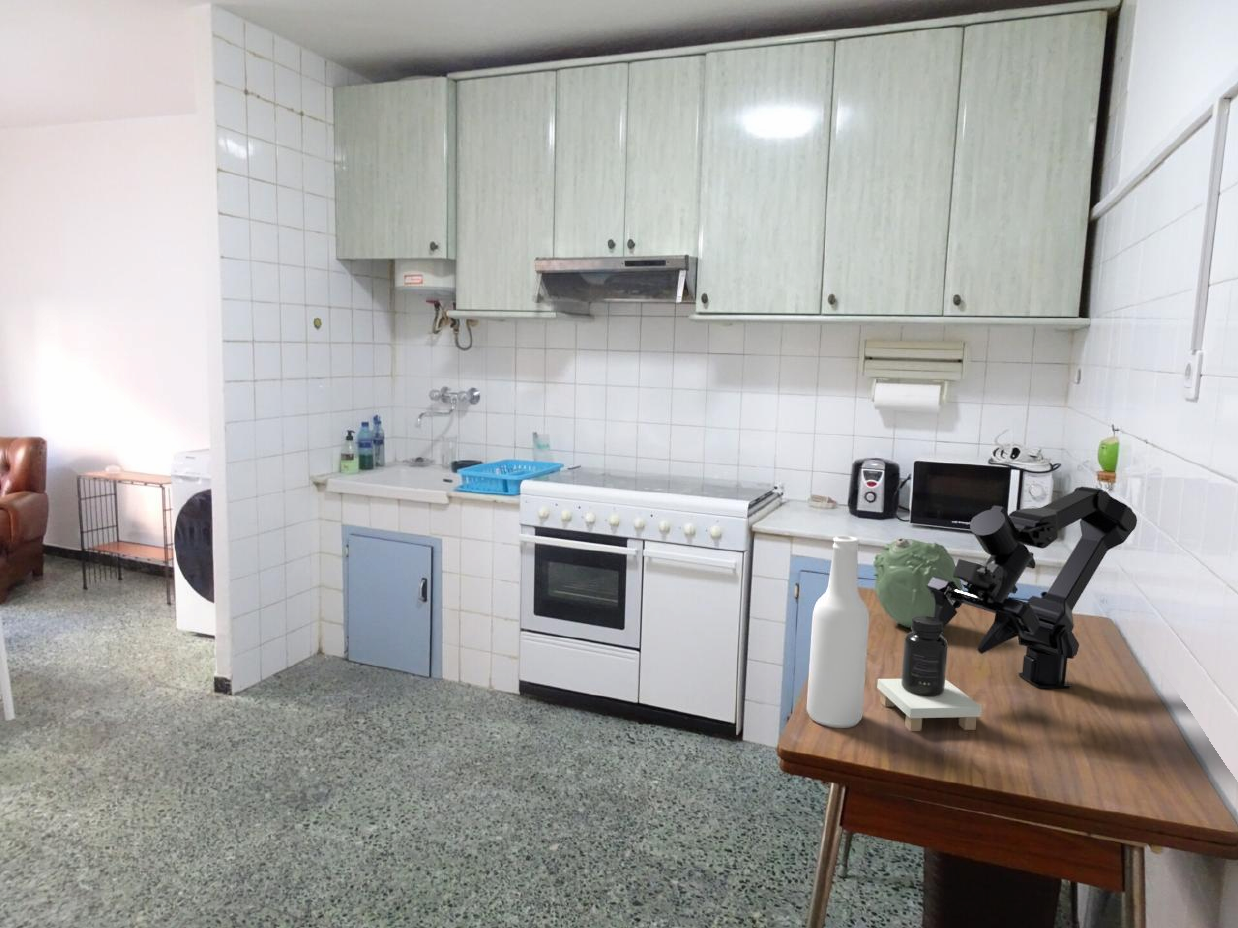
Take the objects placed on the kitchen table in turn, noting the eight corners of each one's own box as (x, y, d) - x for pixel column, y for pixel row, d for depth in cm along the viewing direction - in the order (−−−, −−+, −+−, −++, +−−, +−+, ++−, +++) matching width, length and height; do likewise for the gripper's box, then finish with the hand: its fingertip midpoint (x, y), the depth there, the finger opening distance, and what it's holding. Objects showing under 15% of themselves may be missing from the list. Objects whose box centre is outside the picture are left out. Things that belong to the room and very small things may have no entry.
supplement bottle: (899, 678, 141) (905, 611, 139) (942, 684, 139) (947, 616, 137) (901, 693, 134) (907, 623, 133) (946, 700, 132) (952, 628, 131)
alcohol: (840, 703, 139) (852, 531, 136) (873, 725, 131) (887, 542, 127) (795, 709, 136) (807, 533, 133) (826, 732, 128) (839, 545, 124)
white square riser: (941, 699, 142) (943, 677, 142) (979, 730, 131) (982, 706, 130) (876, 701, 141) (877, 678, 140) (908, 732, 129) (910, 708, 129)
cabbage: (958, 644, 172) (966, 551, 169) (865, 630, 179) (872, 540, 177) (958, 623, 186) (966, 537, 184) (872, 611, 193) (879, 528, 191)
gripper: (937, 531, 146) (890, 600, 142) (1035, 555, 130) (985, 632, 126) (962, 569, 151) (917, 636, 147) (1060, 596, 135) (1013, 672, 131)
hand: (955, 643), depth 137 cm, fingers open, 9 cm apart
